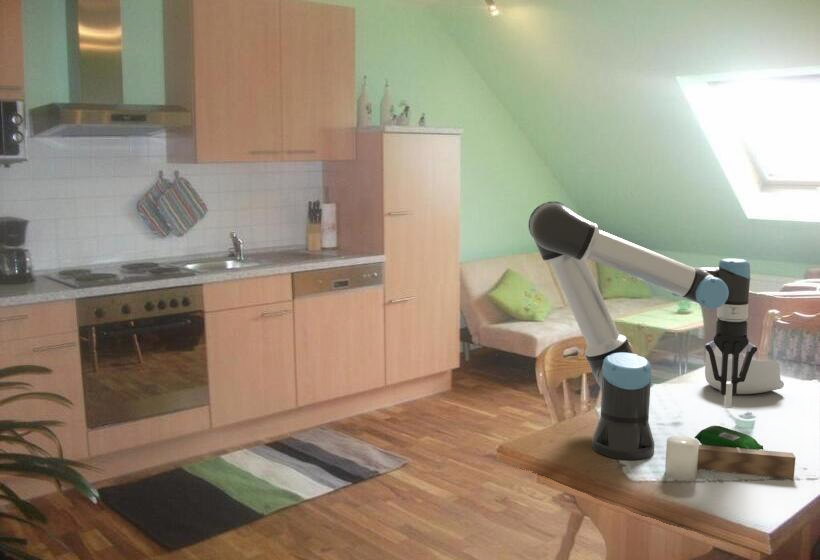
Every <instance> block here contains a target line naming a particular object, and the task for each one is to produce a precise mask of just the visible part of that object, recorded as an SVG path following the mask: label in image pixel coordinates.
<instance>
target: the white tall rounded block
mask: <svg viewBox="0 0 820 560" xmlns="http://www.w3.org/2000/svg"><path fill="white" fill-rule="evenodd" d="M699 445H700V442H699V440H697V439H696V438H692V437H689V436H683V435H675V436H674V435H672V436H669V437H668V438H666V452H665V465H664V466H665V467H664V468H665V469H664V470H665V471H664V474H665V473H666V474H667V475H668V476H667V475H666V474H665V475H666V476H667V477H669V478H671V477H672V478H671V479H674V480H678V481H679V480H680V481H693V480H695V479H697V477H698V469H697V465H698V449H699ZM692 479H693V480H692Z"/></svg>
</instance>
